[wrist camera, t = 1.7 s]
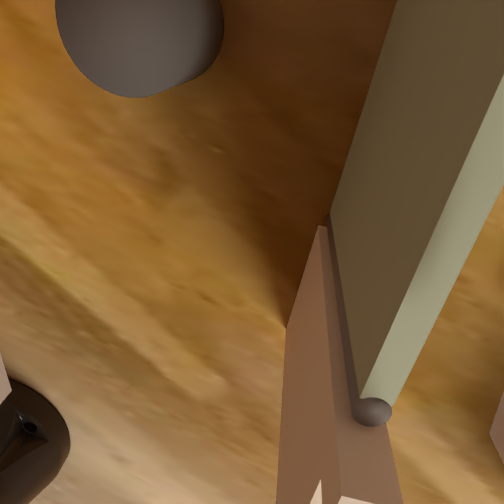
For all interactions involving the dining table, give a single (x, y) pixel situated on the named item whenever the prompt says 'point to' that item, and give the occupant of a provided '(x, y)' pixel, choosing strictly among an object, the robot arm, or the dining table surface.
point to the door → (415, 188)
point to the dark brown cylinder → (140, 41)
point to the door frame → (326, 406)
